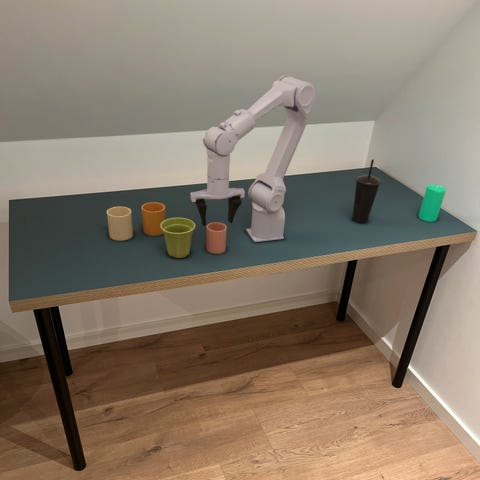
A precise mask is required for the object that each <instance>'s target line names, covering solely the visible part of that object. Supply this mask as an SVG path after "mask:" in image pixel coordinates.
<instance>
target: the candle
mask: <svg viewBox="0 0 480 480" xmlns="http://www.w3.org/2000/svg"><path fill="white" fill-rule="evenodd" d="M446 192H447V188H446V187H445V186H442V185H439V183H437V184H427V185H426V188H425V192H424V195H423V198H422V202H421V206H420V209H419V213H418V219H420V220H422V221H424V222H436V221H437V220H438V218H439V217H438V216H439V214H440V211H441V208H442V205H443V202H444V198H445V195H446Z"/></svg>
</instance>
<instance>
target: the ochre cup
mask: <svg viewBox="0 0 480 480" xmlns="http://www.w3.org/2000/svg"><path fill="white" fill-rule="evenodd" d="M140 209H141V223H142V231H143V233H144V235H145V234H146V235H148V236H153V237H155V236H161V235H164V233H163V230H162V229H161V227H160V225H161V223H162V222H163V221H164V220H167V218H166V217H167V215H166V205H165V204H163V203H162V202H157V201H156V202H155V201H149V202H147V203H146V202H145V203H144V204H142V205H141V208H140Z"/></svg>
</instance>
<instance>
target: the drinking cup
mask: <svg viewBox="0 0 480 480" xmlns="http://www.w3.org/2000/svg"><path fill="white" fill-rule="evenodd" d="M374 161H375V159H374V158H373V159H371V161H370V166H369V170H368V174H363V175H358V176H357V177H356V178H355V182H356V183H355V191H354V201H353V210H352V219H351V220H352V221H353V222H354V223H356V224H366V223H368V220H369V217H370V214H371V212H372V208H373V205H374V202H375V199H376V196H377V193H378V189H379V187H380V185H381V183H382V180H381V179H380V178H378V177H376V176H375V175H372V171H373V166H374Z"/></svg>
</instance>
